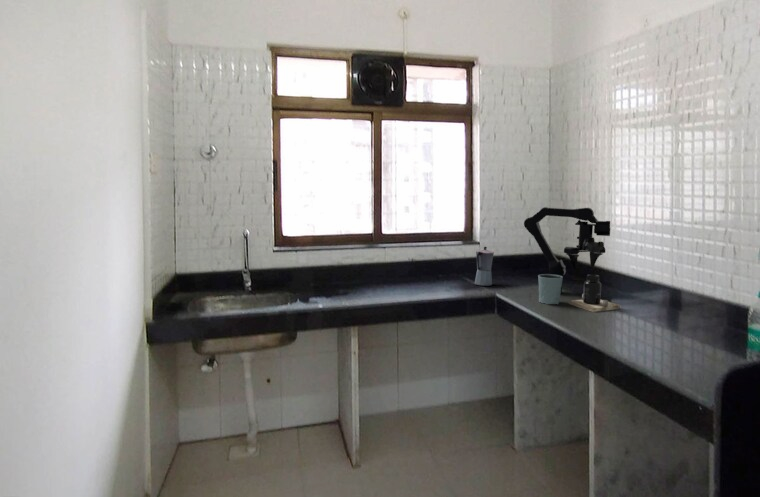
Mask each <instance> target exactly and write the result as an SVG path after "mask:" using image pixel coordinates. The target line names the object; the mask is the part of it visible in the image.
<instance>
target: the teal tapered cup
mask: <svg viewBox="0 0 760 497" xmlns="http://www.w3.org/2000/svg"><path fill="white" fill-rule="evenodd" d="M537 277H538V278H537V279H538V303H539V302H541V303H546V304H557V305H559V304H560V301H561V294H562V292H561V286H562V287H563V279H564V276H563V277H562V276H560V275H553V274H550V273H541V274H538V275H537ZM560 293H561V294H560ZM541 303H540V304H541ZM546 304H545V305H546Z"/></svg>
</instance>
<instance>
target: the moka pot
mask: <svg viewBox="0 0 760 497" xmlns="http://www.w3.org/2000/svg"><path fill="white" fill-rule="evenodd" d="M487 248H488V247H487V246H483V249H481V250H476V253H475V256H476V269H477V270H476V274H475V279H474V284H475V285H477V286H482V287H483V286H487V287H488V286H492V285H493V280H492V279H493V278H492V266H493V259H494V251H491V250H487Z"/></svg>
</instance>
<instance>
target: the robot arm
mask: <svg viewBox="0 0 760 497" xmlns="http://www.w3.org/2000/svg"><path fill="white" fill-rule="evenodd" d="M547 216H548V217H561V218H563V217H564V218H574V219H576V220H577V222H576V223H574V225H576V226H579V228H578V236H576V240H578V244H576V247H575V246H565V247H564V249H563V253H564V254H566V255H567V256H568V258H569V260H570V262H571V264H572V267H573V269H577V268H578V258H579V257H580V254H579V253H586V252H587V253H589V263H590V268H591V269H594V267H595V265H596V263H597V260H598V258H599V257H600V256H601V255H603V254H605V253H606V247H605V242H604V241H597V242H596V240H595V237H593V233H594V234H595V235H596V236H599V237H601V236H602V237H610V236H611V221H610V220H604V221H603V220H598V219H597V217H596V216H595V213H594V209H592V208H591V207H581V208H579V207H578V208H557V207H555V208H554V207H548V206H547V207H546V206H544V207H542V208H541V209H540V210H539V211H537V212H536V213H535V214H533V216H531V217H527V218H526V219H525V220H524V222H523V227H524V228H525V229H526V230H527V232H529V233H530V235H531V236H533V238H534V240H535V241H536V243H537V245H538V247H539V249H540V250H541V252H542V254H543V256H544V258H545V259H546V260H547V263H548V267H549V270H550V271H549V272H550V273H549V274H553V275H560V276H562V277H563V278H564V275H565V274H566V272H567V270H566V267H567V266H566V265H565V264H564V262H563V259H560V260H559V259H558V258H557V257H556V255H555V253H554V252H553V250H552V248H551V247H550V244H549V243H548V241H547V240H546V238H545V236H544V234H543V233H542V229H541V226H540V222H541V221H542V220H543V219H544V218H546V217H547ZM562 292H563V285H562V286H561V293H560V295H562Z"/></svg>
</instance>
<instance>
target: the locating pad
mask: <svg viewBox="0 0 760 497" xmlns="http://www.w3.org/2000/svg"><path fill="white" fill-rule="evenodd" d="M569 305H571V306H574V307H577V308H580V309H584V310H585V311H590V312H593V313H596V312H605V311H612V310H613V311H614V310H619V309H620V310H621V305H620V304H618V303H614V302H611V301H609V300H608V299H601V300H600V304H596V305H593V304H586V303H584V302H583V293H582V294H581V299H574V300H573V299H572V300H569Z"/></svg>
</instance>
